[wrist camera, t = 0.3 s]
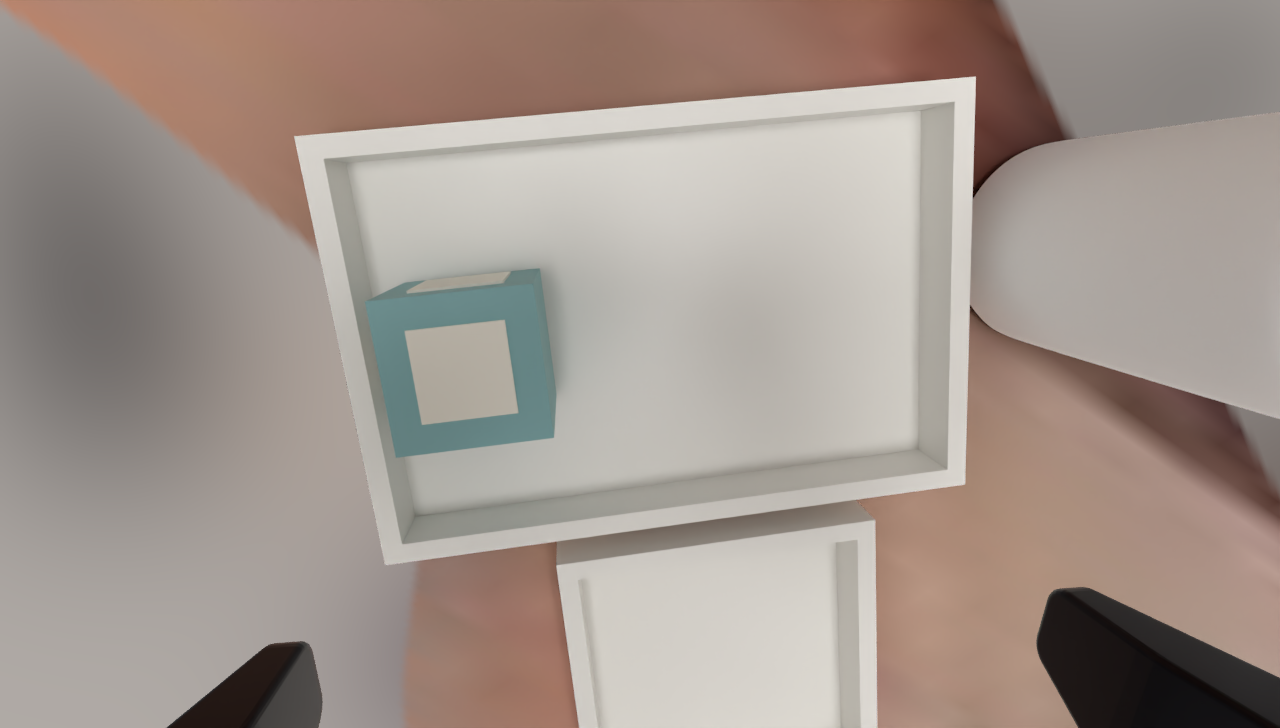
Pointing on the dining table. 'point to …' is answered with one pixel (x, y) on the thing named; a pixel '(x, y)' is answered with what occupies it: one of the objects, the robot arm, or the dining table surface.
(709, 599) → the small tray
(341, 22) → the dining table surface
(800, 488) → the long tray
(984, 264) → the can
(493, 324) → the letter cube
